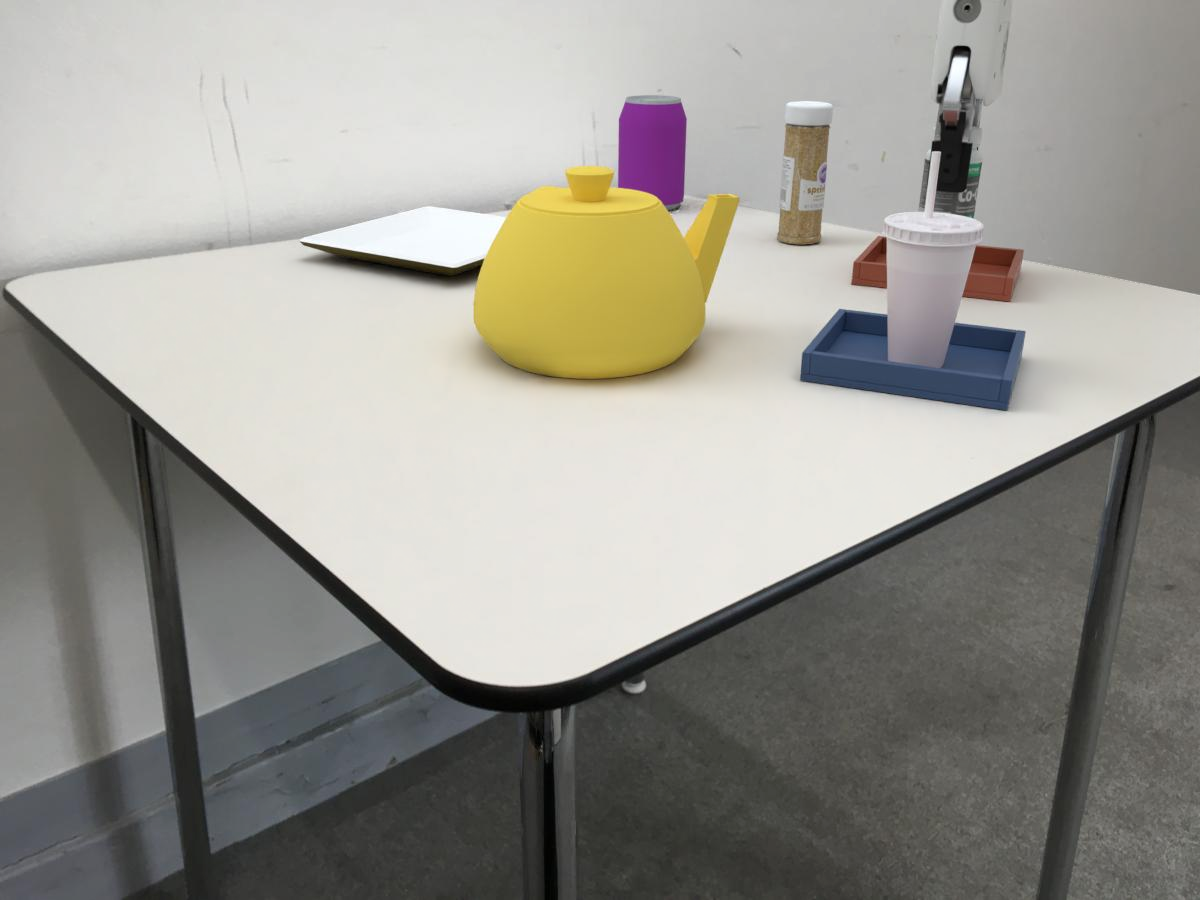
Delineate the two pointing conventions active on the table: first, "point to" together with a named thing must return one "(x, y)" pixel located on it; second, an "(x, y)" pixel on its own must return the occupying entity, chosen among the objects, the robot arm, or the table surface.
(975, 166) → the pill bottle
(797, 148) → the sprinkles bottle
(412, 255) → the plate
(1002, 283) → the terracotta tray
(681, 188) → the beverage can
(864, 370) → the blue tray
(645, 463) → the table surface
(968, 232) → the smoothie
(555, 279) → the teapot
